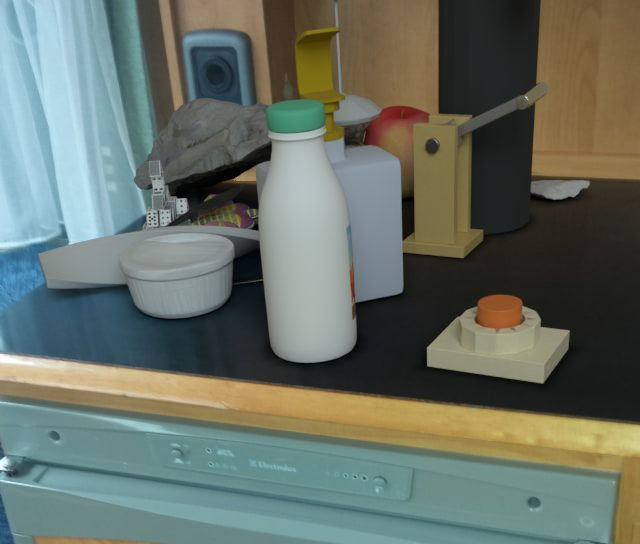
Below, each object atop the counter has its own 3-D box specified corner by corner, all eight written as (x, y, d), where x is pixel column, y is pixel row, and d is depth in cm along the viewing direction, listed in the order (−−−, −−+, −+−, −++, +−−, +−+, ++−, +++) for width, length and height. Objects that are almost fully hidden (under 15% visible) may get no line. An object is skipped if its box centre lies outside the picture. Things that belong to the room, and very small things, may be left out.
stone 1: (265, 157, 109) (252, 57, 106) (115, 199, 128) (101, 115, 125) (356, 158, 119) (346, 66, 116) (204, 196, 138) (192, 119, 136)
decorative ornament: (272, 233, 108) (181, 254, 108) (275, 252, 110) (186, 272, 109) (250, 181, 121) (169, 200, 120) (253, 199, 122) (173, 217, 122)
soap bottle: (286, 318, 94) (260, 41, 81) (266, 295, 100) (238, 31, 86) (406, 295, 97) (400, 22, 83) (380, 274, 102) (371, 14, 89)
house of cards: (215, 238, 115) (205, 169, 111) (140, 243, 116) (128, 174, 111) (222, 215, 123) (214, 148, 118) (152, 219, 123) (141, 153, 119)
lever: (552, 98, 98) (543, 73, 97) (532, 112, 94) (523, 87, 93) (446, 148, 105) (437, 125, 104) (424, 163, 101) (415, 140, 100)
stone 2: (522, 189, 122) (523, 172, 121) (584, 185, 122) (586, 168, 120) (528, 208, 118) (529, 191, 117) (592, 203, 118) (594, 186, 116)
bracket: (483, 240, 109) (486, 114, 101) (463, 258, 105) (465, 128, 97) (423, 235, 112) (422, 111, 104) (401, 252, 108) (398, 125, 100)
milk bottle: (350, 366, 85) (336, 113, 74) (262, 365, 87) (234, 117, 75) (363, 329, 91) (351, 91, 80) (280, 329, 93) (257, 95, 81)
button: (527, 317, 83) (528, 296, 82) (513, 333, 81) (514, 313, 80) (486, 312, 85) (486, 292, 84) (470, 328, 82) (471, 308, 81)
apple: (348, 199, 124) (344, 112, 118) (401, 181, 129) (399, 97, 123) (405, 213, 118) (403, 122, 112) (458, 193, 123) (459, 105, 117)
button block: (568, 349, 85) (571, 309, 83) (543, 383, 80) (545, 342, 78) (457, 334, 89) (457, 296, 87) (426, 366, 84) (426, 327, 82)
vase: (529, 235, 109) (546, -94, 92) (435, 236, 111) (435, -86, 93) (528, 206, 117) (544, -101, 100) (441, 208, 119) (442, -94, 102)
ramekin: (234, 276, 105) (228, 225, 102) (246, 315, 96) (240, 260, 93) (127, 290, 104) (117, 239, 101) (128, 331, 95) (118, 276, 92)
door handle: (303, 255, 106) (290, 264, 110) (294, 206, 105) (282, 216, 110) (49, 293, 99) (47, 300, 103) (37, 240, 98) (36, 249, 103)
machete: (247, 186, 112) (250, 192, 113) (237, 177, 114) (239, 182, 115) (133, 257, 111) (136, 262, 112) (125, 246, 113) (128, 251, 114)
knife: (209, 290, 103) (208, 287, 103) (209, 285, 104) (208, 282, 104) (305, 278, 103) (304, 275, 103) (303, 273, 104) (303, 270, 104)
